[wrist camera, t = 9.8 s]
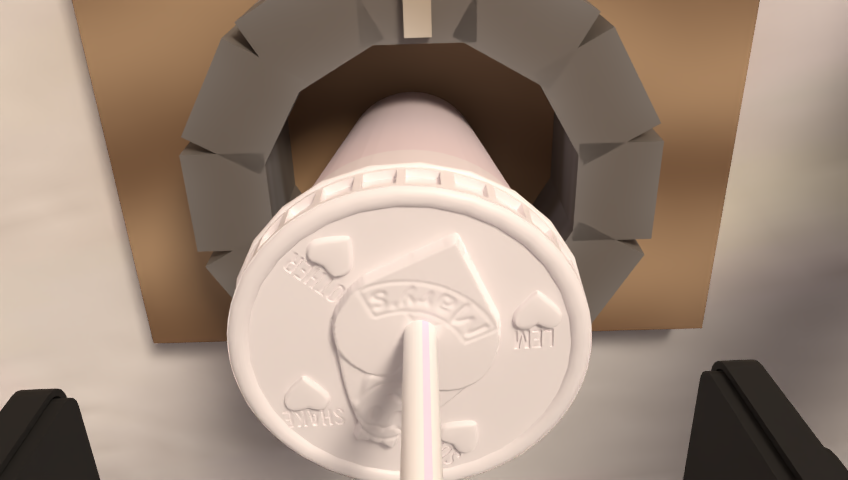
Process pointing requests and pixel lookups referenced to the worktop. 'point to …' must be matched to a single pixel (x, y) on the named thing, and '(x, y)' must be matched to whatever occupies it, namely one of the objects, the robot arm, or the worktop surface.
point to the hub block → (442, 77)
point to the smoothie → (409, 307)
